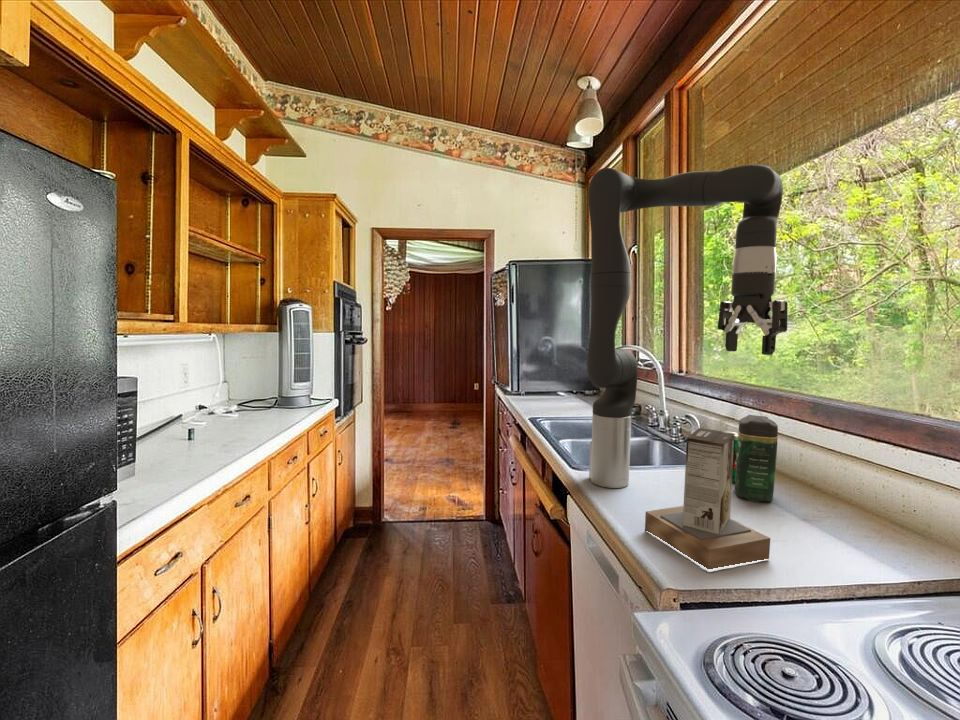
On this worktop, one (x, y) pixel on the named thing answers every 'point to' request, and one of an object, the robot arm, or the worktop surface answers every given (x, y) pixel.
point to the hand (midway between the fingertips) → (748, 352)
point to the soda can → (734, 455)
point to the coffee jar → (756, 458)
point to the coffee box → (708, 480)
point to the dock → (708, 539)
